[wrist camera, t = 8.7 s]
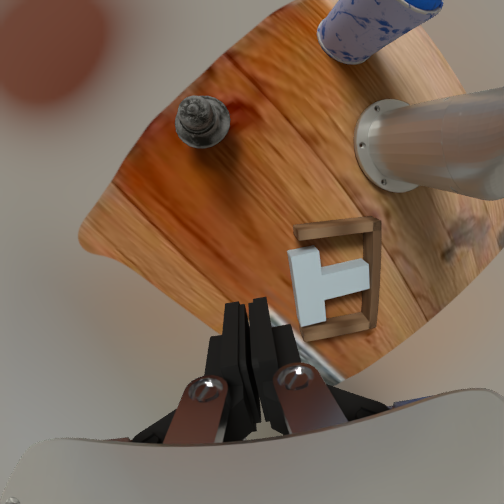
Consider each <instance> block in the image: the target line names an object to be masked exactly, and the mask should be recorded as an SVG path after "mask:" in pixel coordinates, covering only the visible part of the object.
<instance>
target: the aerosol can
mask: <svg viewBox="0 0 504 504" xmlns="http://www.w3.org/2000/svg"><path fill="white" fill-rule="evenodd" d="M442 6H443V0H339V1H338V2H337V3H336V5H335V6H334V8H333V9H332V10H331V12H330V13H329V14H328V16H327V17H326V18H325V19H323V20H322V22H321V23H320V25H319V26H318V29H317V37H318V42H319V44H320V45H321V47H322V49H323V50H324V51H325V52H326V53H327V54H328V55H329V56H330V57H332V58H333V59H335V60H337V61H338V62H342V63H345V64H352V65H356V64H360V63H363V62H364V61H366V60H367V59H368V58H370V56H371V55H372V54H374V53H375V52H377V51H378V50H380V49H381V48H383V47H385V46H386V45H388V44H389V43H391V42H392V41H394V40H396V39H397V38H399V37H400V36H402V35H404V34H405V33H407V32H409V31H410V30H412V29H414V28H415V27H417V26H419V25H421V24H422V23H424V22H426V21H428V20H429V19H431V18H433V17H434V16H436V15H437V14H438V13H439V12H440V11H441V9H442Z"/></svg>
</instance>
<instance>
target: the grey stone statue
mask: <svg viewBox="0 0 504 504" xmlns="http://www.w3.org/2000/svg"><path fill="white" fill-rule="evenodd" d="M175 127H176V132H177V134H178V136H179V138H180V139H181V140H182V141H183V142H184V143H186V144H187V145H189V146H191V147H194V148H208V147H212V146H214V145H216V144H218V143H219V142H220V141H221V140H222V139H223V138H224V137H225V135H226V134H227V132H228V130H229V127H230V116H229V112H228V110H227V108H226V106H225V105H224V104H223V103H222V102H221V101H219V100H218V99H216V98H213V97H210V96H189V97H187V98H185V99H184V100H183V101H182V102H181V103H180V105H179V108H178V113H177V115H176V119H175Z"/></svg>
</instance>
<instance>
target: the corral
mask: <svg viewBox="0 0 504 504" xmlns="http://www.w3.org/2000/svg"><path fill="white" fill-rule="evenodd" d="M293 230H294V235H295V236H296V238H297V239H298V240H299V241H301V240H308V239H316V238H324V237H332V236H340V235H347V234H355V233H363V260H364V261H365V262H366V263H368V264H369V284H370V289H366V290H363V291H362V310H361V312H359V313H354V314H349V315H344V316H339V317H333V318H328V319H326V321H323V322H319V323H315V324H311V325H307V326H303V327H301V326H300V332H301V335H302V337H303V340H304V342H308V341H314V340H319V339H324V338H329V337H334V336H339V335H344V334H349V333H354V332H358V331H363V330H367V329H371V328H375V327H376V323H377V313H378V301H379V287H380V269H381V220H379V219H376V218H374V217H372V216H367V217H358V218H348V219H339V220H331V221H322V222H313V223H305V224H297V225H293Z"/></svg>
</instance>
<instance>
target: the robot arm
mask: <svg viewBox="0 0 504 504" xmlns="http://www.w3.org/2000/svg"><path fill="white" fill-rule="evenodd" d="M374 108H375V109H376V111H375V109H374ZM359 144H361V147H360V146H359ZM354 149H355V154H356V158H357V160H358V163H359V165H360V167H361V169H362V170H363V172H364V174H365V175H366V176H367V177H368V178H369V180H370V181H371V182H373V183H374V184H375V185H376V186H378V187H380V188H382V189H384V190H387V191H390V192H396V193H401V192H407V191H411V190H413V189H415V188H416V187H418V186H419V185H421V186H425V187H430V188H435V189H439V190H444V191H448V192H453V193H457V194H461V195H465V196H469V197H473V198H477V199H481V200H488V201H493V200H499V199H502V198H504V87H500V88H495V89H490V90H485V91H480V92H474V93H468V94H462V95H457V96H451V97H446V98H441V99H436V100H431V101H426V102H422V103H417V104H413V105H409V104H408V103H405V102H403V101H401V100H396V99H384V100H380V101H377V102H375V103H373V104H371V105H370V106H368V107H367V108H366V109H365V110H364V111H363V112H362V114H361V115H360V117H359V119H358V121H357V124H356V127H355V131H354ZM381 180H382V183H381ZM248 305H249V322H248V318H247V313H246V308H245V304H241V305H240V304H239V301H238V302H232V303H226V304H225V311H224V322H223V332H222V335H219V336H211V337H210V341H209V348H208V354H207V361H206V368H205V374H204V376H202V377H198V378H196V379H195V380H193V381H191V382H190V383H189V384H188V385H187V386H186V388H185V390H184V392H183V395H182V397H181V400H180V402H179V405H178V407H177V409H175V410H174V411H172V412H171V413H169V414H168V415H166V416H165V417H163V418H162V419H160V420H159V421H157V422H156V423H154V424H153V425H151V426H149V427H148V428H147V429H145V430H143V431H142V432H140V433H139V434H138V435H136V436H135V437H134V438H133V440H130V439H129V437H125V438H117V439H107V440H97V439H86V438H55V439H48V440H44V441H41V442H38V443H35V444H33V445H32V446H31V447H29V448H28V449H27V451H26V452H25V453H24V454H23V456H22V457H21V459H20V460H19V462H18V463H17V465H16V467H15V469H14V471H13V472H12V474H11V476H10V478H9V481H8V483H7V485H6V487H5V489H4V491H3V494H2V497H1V499H0V504H504V397H503V396H502V395H500V394H498V393H497V392H495V391H493V390H490V389H486V388H470V389H461V390H454V391H449V392H445V393H441V394H437V395H433V396H428V397H423V398H417V399H412V400H406V401H399V402H394V404H393V406H386V405H385V404H382V403H380V402H378V401H374V400H371V399H368V398H365V397H362V396H359V395H356V394H353V393H350V392H347V391H344V390H341V389H339V388H336V387H333V386H330V385H327V384H325V382H324V380H323V378H322V377H321V375H320V373H319V372H318V370H317V369H316V368H315V367H314V366H312V365H310V364H307V363H301V360H300V356H299V352H298V349H297V345H296V341H295V338H294V334H293V331H292V327H291V324H288V325H282V326H277V327H271V321H270V316H269V310H268V304H267V298H266V297H262V298H256V299H253V303H248ZM249 324H250V327H249ZM259 397H260V398H259ZM260 401H261V404H262V408H263V413H264V417H265V420H266V422H268V421H270V423H271V428H272V429H274V430H276V431H278V432H280V433H282V434H283V436H276V437H269V438H262V439H254V440H246V437H247V436H248V435H249V434H250V433H251V432H254V431H257V430H256V423H261V411H260Z"/></svg>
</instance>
